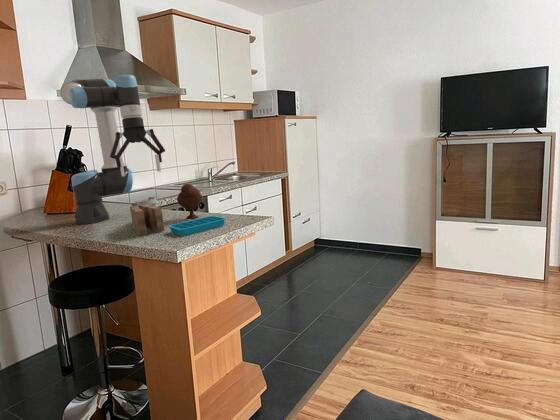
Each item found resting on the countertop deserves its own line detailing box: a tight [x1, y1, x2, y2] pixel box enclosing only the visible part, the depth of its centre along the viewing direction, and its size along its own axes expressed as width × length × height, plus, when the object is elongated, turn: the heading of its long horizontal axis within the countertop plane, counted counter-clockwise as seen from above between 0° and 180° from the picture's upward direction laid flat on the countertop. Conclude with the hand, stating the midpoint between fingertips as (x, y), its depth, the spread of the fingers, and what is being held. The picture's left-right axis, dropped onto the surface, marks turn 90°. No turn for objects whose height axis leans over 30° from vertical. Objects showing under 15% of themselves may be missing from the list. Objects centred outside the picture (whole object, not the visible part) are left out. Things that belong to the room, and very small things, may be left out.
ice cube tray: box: [167, 215, 227, 237], centre depth 163 cm, size 12×20×3 cm, turn 130°
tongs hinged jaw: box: [138, 204, 165, 233], centre depth 169 cm, size 17×2×9 cm, turn 39°
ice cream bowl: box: [176, 183, 203, 220], centre depth 184 cm, size 11×11×15 cm
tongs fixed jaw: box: [129, 202, 148, 237], centre depth 168 cm, size 21×4×10 cm, turn 27°
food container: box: [134, 196, 158, 207], centre depth 185 cm, size 12×6×10 cm, turn 168°
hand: (141, 173), depth 164 cm, fingers open, 13 cm apart
